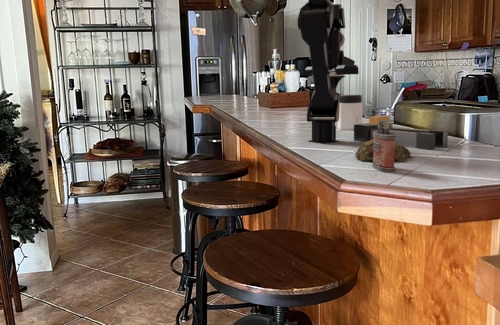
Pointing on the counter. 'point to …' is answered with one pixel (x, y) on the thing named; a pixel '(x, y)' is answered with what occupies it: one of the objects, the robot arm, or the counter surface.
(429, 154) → the counter surface
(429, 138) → the tongs base
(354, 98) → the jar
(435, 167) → the counter surface
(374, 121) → the lock tab
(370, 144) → the bread roll
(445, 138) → the tong arm
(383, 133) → the lighter
